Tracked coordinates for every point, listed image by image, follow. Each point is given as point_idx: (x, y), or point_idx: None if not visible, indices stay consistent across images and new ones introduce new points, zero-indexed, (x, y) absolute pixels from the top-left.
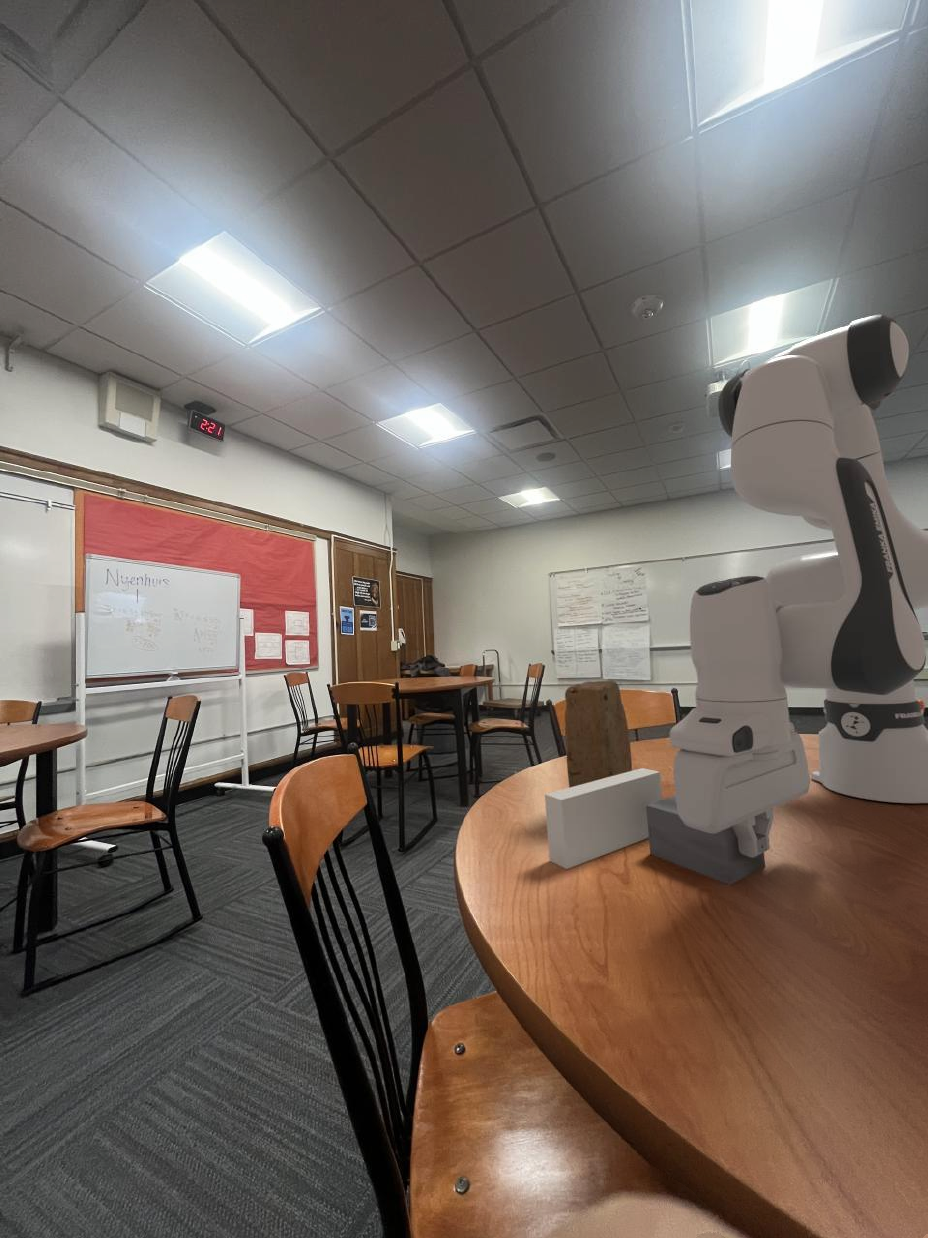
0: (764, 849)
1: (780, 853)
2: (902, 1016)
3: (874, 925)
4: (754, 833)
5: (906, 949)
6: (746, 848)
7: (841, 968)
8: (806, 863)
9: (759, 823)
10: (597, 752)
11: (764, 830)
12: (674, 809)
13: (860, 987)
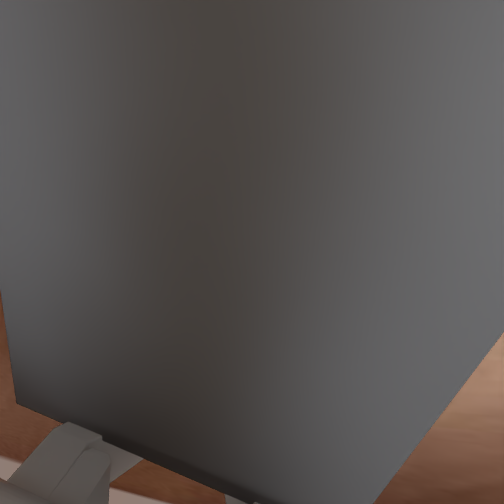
0: None
1: (493, 377)
2: (11, 452)
3: (183, 476)
4: (124, 468)
5: (144, 490)
6: None
7: (39, 422)
8: (431, 430)
9: (236, 501)
10: None
11: None
12: (49, 44)
13: (21, 432)
